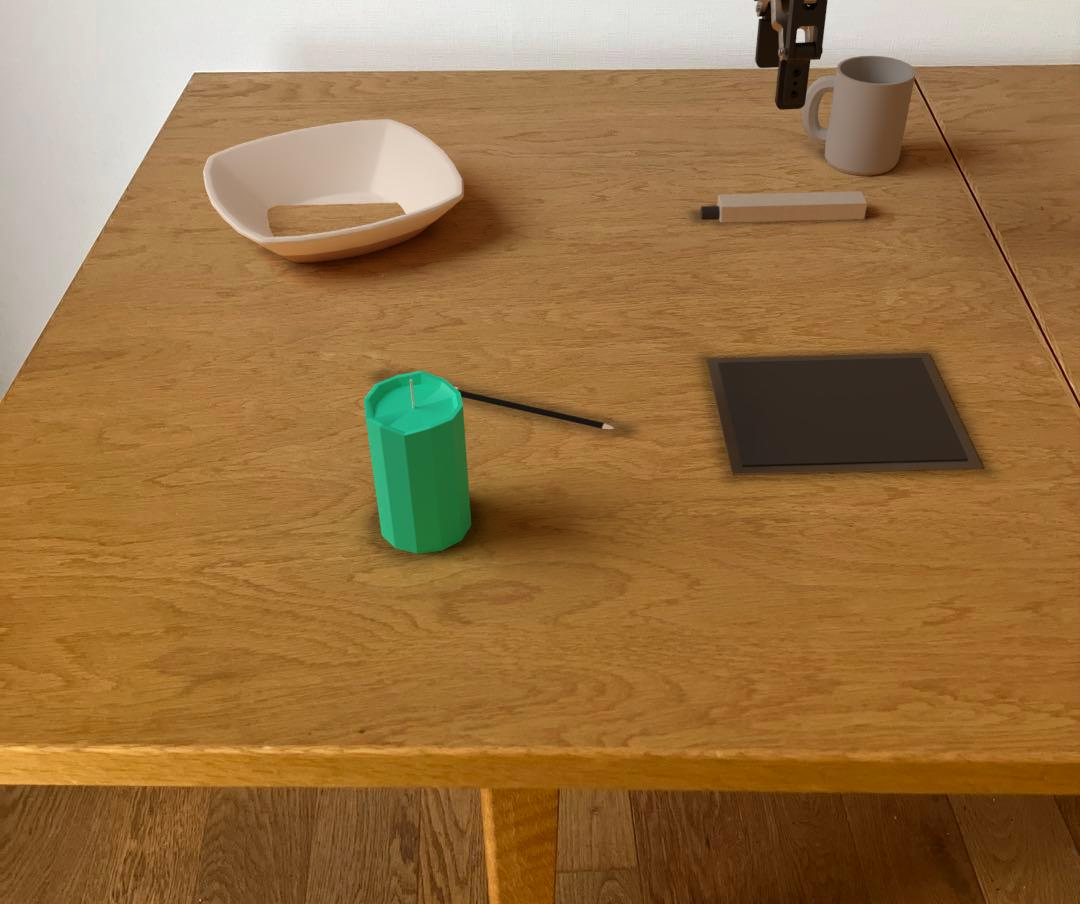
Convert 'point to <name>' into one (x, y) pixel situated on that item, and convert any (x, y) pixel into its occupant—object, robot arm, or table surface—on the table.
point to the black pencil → (534, 410)
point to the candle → (419, 461)
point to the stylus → (787, 207)
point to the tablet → (837, 415)
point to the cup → (862, 113)
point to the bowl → (334, 184)
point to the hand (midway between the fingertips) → (778, 86)
